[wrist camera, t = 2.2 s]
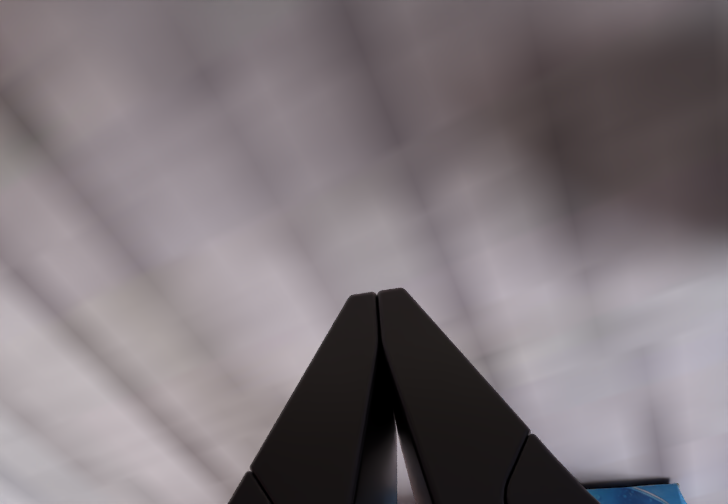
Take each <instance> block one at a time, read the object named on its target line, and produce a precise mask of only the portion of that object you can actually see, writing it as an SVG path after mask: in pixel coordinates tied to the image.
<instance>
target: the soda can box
mask: <svg viewBox="0 0 728 504" xmlns="http://www.w3.org/2000/svg"><path fill="white" fill-rule="evenodd" d="M586 490H587V491H588V492H589V493H590V494H591V495H592V496H593V497H594V498H595V499H597V500H598V501H599V502H600V503H601V504H687V503H686V502H685V500H684V498H683V496H682V494H681V492H680V490H679V484H678V483H674V484H659V485H644V486H634V487H623V488H600V489H586Z"/></svg>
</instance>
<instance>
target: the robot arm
mask: <svg viewBox="0 0 728 504" xmlns="http://www.w3.org/2000/svg"><path fill="white" fill-rule="evenodd" d="M395 420H396V423H395ZM396 426H397V431H398V436H399V440H400V445H401V449H402V453H403V456H404V460H405V464H406V468H407V472H408V476H409V480H410V483H411V487H412V491H413V495H414V499H415V503H416V504H601V503H600V502H599V501H598V500H597V499H595V498H594V497H593V496H592V495H591V494H590V493H589V492H588V491H587V490H586V489H585V488H584V487H583V486H582V485H581V484H580V483H579V482H578V481H577V480H576V478H575V477H574V476H573V475H572V474H571V473H570V472H569V471H568V470H567V469H566V468H565V467H564V466H563V465H562V464H561V463H560V462H559V461H558V460H557V458H556V457H555V456H554V455H553V454H552V453H551V452H550V451H549V450H548V449H547V447H546V446H545V445H544V444H543V443H542V442H541V441H540V440H539V438H538V437H537V436H536V435H535V434H531V431H530V429H529V428H528V427H527V425H526V424H525V423H524V422H523V421H522V420H521V419H520V418H519V416H518V415H517V414H516V413H515V412H514V411H513V410H512V409H511V408H510V406H509V405H508V404H507V403H506V402H505V401H504V400H503V399H502V397H501V396H500V395H499V394H498V393H497V392H496V391H495V390H494V388H493V387H492V386H491V385H490V384H489V383H488V382H487V381H486V380H485V378H484V377H483V376H482V375H481V374H480V373H479V372H478V371H477V369H476V368H475V367H474V366H473V365H472V364H471V363H470V362H469V360H468V359H467V358H466V357H465V356H464V355H463V354H462V353H461V352H460V350H459V349H458V348H457V347H456V346H455V345H454V344H453V343H452V341H451V340H450V339H449V338H448V337H447V336H446V335H445V334H444V332H443V331H442V330H441V329H440V328H439V327H438V326H437V325H436V324H435V322H434V321H433V320H432V319H431V318H430V317H429V316H428V315H427V313H426V312H425V311H424V310H423V309H422V308H421V307H420V306H419V304H418V303H417V302H416V301H415V300H414V299H413V298H412V297H411V296H410V294H409V293H408V292H407V291H406V290H405V289H403V288H395V289H388V290H382V291H379V292H378V294H377V295H376V293H374V292H368V293H361V294H354V295H351V296H350V297H349V298H348V299H347V301H346V303H345V304H344V306H343V308H342V310H341V311H340V313H339V315H338V316H337V318H336V320H335V322H334V323H333V325H332V327H331V328H330V330H329V332H328V334H327V335H326V337H325V339H324V340H323V342H322V344H321V346H320V347H319V349H318V351H317V352H316V354H315V356H314V358H313V359H312V361H311V363H310V364H309V366H308V368H307V370H306V371H305V373H304V375H303V376H302V378H301V380H300V382H299V383H298V385H297V387H296V388H295V390H294V392H293V394H292V395H291V397H290V399H289V400H288V402H287V404H286V406H285V407H284V409H283V411H282V412H281V414H280V416H279V418H278V419H277V421H276V423H275V424H274V426H273V428H272V430H271V431H270V433H269V435H268V436H267V438H266V440H265V442H264V443H263V445H262V447H261V448H260V450H259V452H258V454H257V455H256V457H255V459H254V460H253V462H252V464H251V465H250V470H251V471H248V472H246V473H245V475H244V477H243V479H242V480H241V482H240V484H239V486H238V487H237V489H236V491H235V492H234V494H233V496H232V498H231V499H230V501H229V502H228V504H397V434H396Z"/></svg>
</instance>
